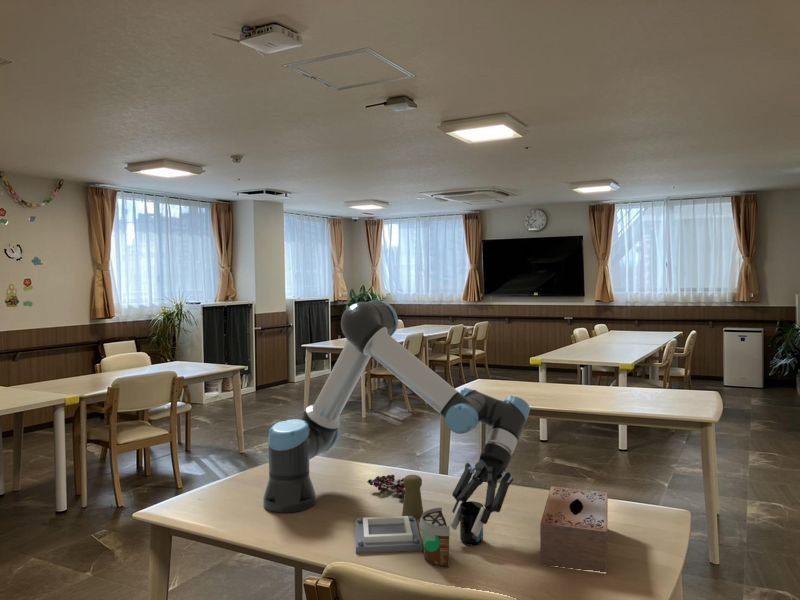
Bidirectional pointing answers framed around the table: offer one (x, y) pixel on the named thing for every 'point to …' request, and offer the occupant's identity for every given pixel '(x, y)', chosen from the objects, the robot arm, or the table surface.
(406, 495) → the cork
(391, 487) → the toy collection
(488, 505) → the robot arm
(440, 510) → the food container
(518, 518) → the table surface
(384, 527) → the base plate
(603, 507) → the tissue box cover
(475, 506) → the supplement container
